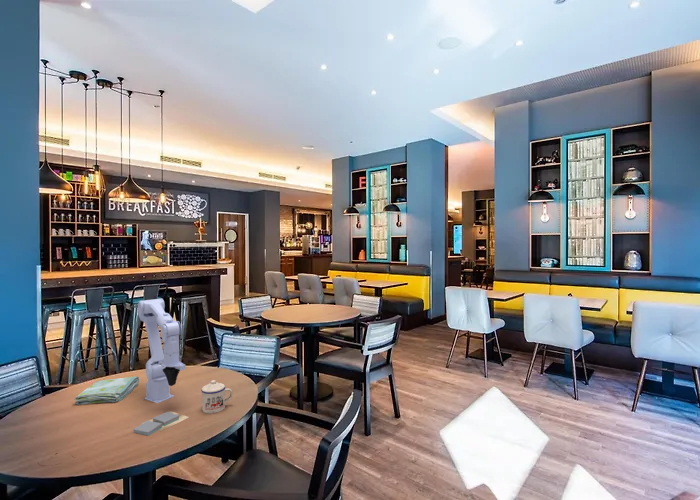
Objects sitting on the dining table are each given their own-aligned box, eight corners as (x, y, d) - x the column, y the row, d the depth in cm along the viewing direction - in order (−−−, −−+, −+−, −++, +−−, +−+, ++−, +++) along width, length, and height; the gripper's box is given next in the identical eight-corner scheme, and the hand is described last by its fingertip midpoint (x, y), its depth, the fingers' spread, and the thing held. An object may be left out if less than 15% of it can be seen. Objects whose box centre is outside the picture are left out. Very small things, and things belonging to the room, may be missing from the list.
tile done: (133, 433, 132) (133, 429, 132) (147, 424, 138) (147, 420, 138) (148, 436, 130) (148, 432, 130) (162, 427, 136) (162, 423, 136)
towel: (72, 407, 155) (72, 394, 155) (99, 387, 176) (99, 376, 176) (119, 403, 158) (119, 392, 158) (140, 384, 179) (140, 374, 179)
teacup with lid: (203, 416, 145) (202, 386, 144) (200, 407, 153) (200, 379, 153) (234, 409, 150) (234, 381, 150) (230, 401, 158) (230, 374, 158)
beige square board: (140, 424, 139) (140, 423, 139) (169, 411, 149) (169, 410, 149) (160, 432, 133) (160, 431, 133) (189, 418, 143) (189, 417, 143)
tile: (152, 418, 140) (164, 422, 137) (167, 411, 145) (178, 415, 142) (152, 421, 140) (164, 426, 137) (167, 415, 145) (178, 419, 142)
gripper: (151, 352, 151) (152, 385, 151) (174, 357, 144) (174, 391, 144) (167, 347, 157) (167, 379, 157) (189, 352, 150) (190, 385, 150)
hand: (172, 384), depth 151 cm, fingers closed
